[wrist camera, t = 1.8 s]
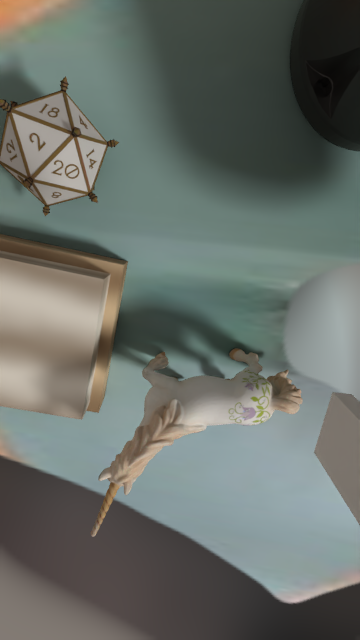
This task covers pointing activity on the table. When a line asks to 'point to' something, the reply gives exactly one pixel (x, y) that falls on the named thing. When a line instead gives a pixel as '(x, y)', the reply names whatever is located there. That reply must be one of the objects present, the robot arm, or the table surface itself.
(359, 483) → the robot arm
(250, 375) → the unicorn figurine
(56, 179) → the game die
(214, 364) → the table surface
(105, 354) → the tower base
